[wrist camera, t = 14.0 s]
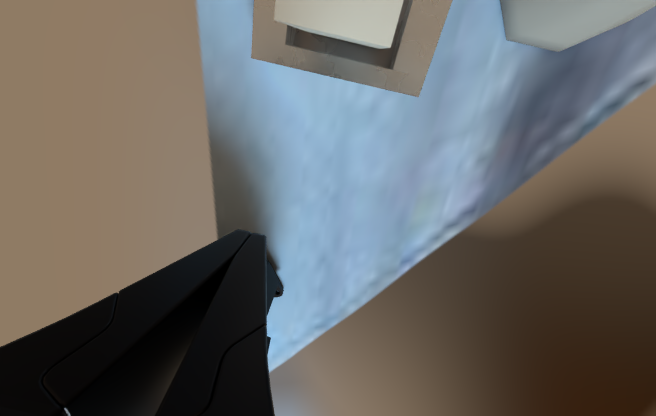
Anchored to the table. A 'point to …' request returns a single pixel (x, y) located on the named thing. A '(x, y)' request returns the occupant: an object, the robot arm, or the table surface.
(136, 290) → the robot arm
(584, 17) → the flask
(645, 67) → the table surface
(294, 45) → the socket
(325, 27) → the plug
